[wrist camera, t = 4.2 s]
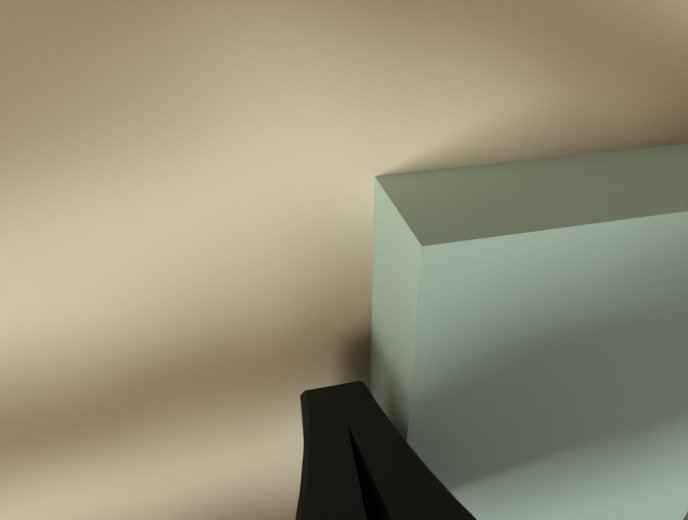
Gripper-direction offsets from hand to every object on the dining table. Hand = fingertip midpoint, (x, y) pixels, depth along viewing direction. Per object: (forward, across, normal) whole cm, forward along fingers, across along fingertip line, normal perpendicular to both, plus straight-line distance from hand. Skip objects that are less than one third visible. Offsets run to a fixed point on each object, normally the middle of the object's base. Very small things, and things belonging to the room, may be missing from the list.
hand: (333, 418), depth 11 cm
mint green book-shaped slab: (+1, -5, 0) cm, 5 cm away
